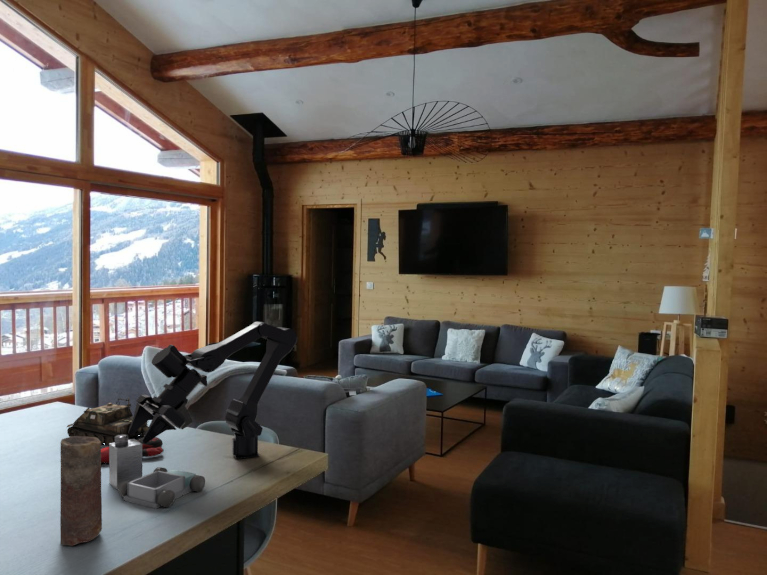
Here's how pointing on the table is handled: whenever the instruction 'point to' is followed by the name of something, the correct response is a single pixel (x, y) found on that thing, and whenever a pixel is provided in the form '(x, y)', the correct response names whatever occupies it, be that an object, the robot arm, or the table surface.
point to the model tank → (105, 423)
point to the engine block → (124, 460)
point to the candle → (80, 490)
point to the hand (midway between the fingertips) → (136, 438)
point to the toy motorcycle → (147, 449)
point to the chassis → (160, 487)
